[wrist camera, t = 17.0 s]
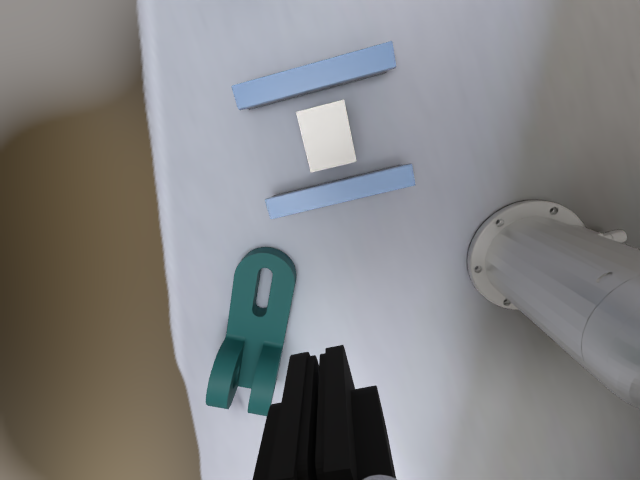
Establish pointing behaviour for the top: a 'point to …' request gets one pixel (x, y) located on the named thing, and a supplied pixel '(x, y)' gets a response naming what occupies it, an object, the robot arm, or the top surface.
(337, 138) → the off-white rectangular prism
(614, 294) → the robot arm
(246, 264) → the bracket
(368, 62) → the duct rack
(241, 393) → the top surface
